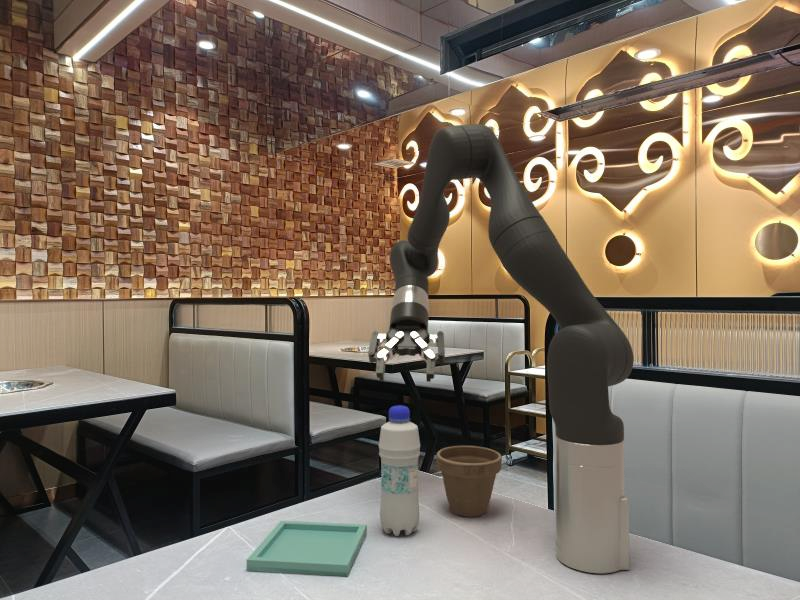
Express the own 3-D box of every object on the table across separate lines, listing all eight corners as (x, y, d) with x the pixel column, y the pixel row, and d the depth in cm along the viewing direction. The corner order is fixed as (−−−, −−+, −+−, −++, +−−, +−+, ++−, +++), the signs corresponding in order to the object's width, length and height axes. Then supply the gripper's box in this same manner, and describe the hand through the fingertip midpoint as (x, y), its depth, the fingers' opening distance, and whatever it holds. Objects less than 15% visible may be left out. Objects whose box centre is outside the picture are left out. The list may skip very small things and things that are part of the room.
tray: (366, 534, 89) (366, 524, 89) (347, 576, 75) (347, 565, 75) (280, 530, 91) (280, 520, 91) (246, 570, 77) (246, 559, 77)
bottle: (416, 540, 86) (416, 410, 87) (374, 537, 88) (373, 408, 88) (423, 524, 93) (423, 402, 93) (384, 521, 94) (383, 401, 95)
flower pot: (507, 523, 93) (507, 462, 93) (438, 523, 93) (438, 462, 93) (496, 499, 105) (495, 445, 105) (434, 499, 105) (434, 445, 105)
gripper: (372, 299, 111) (363, 365, 100) (445, 300, 110) (444, 366, 98) (376, 325, 116) (367, 390, 105) (445, 326, 115) (444, 391, 104)
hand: (404, 378), depth 102 cm, fingers open, 8 cm apart
